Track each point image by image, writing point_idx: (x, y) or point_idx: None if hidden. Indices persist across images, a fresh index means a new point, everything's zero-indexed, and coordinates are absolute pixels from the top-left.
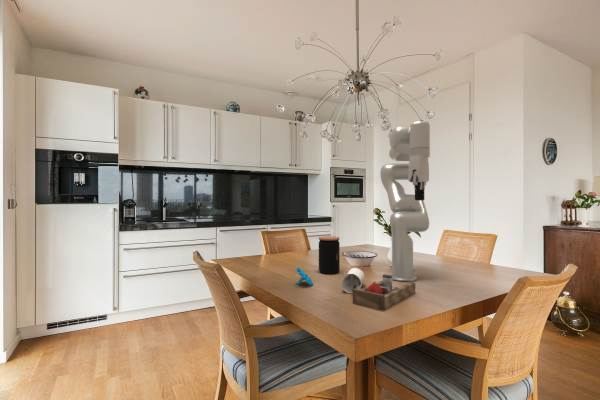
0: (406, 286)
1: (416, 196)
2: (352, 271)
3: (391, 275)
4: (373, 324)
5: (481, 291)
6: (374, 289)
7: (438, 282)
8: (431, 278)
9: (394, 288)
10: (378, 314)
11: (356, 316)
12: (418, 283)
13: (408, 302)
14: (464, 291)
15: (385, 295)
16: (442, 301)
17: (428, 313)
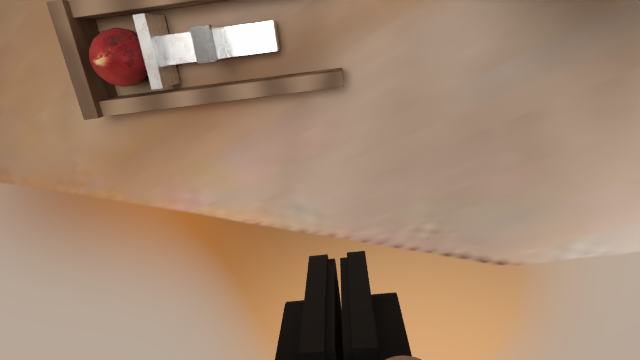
0: (270, 92)
1: (285, 313)
2: None
3: (213, 58)
4: (18, 153)
5: (512, 219)
6: (96, 71)
7: (549, 69)
8: (606, 13)
9: (251, 52)
10: (77, 121)
11: (15, 91)
12: (479, 19)
13: (230, 122)
14: (476, 184)
15: (123, 105)
16: (317, 183)
17: (193, 202)
